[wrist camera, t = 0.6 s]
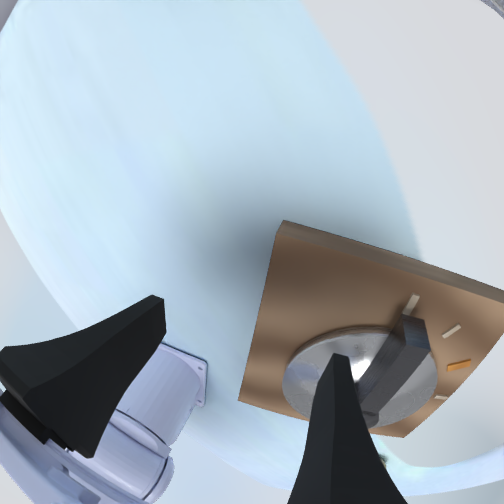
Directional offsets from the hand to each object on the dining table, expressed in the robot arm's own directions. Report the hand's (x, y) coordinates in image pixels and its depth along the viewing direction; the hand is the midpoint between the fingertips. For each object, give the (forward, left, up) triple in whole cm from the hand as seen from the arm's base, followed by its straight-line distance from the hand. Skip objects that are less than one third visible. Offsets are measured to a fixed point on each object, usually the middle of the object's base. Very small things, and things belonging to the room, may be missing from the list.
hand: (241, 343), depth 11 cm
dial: (-7, -9, -6) cm, 13 cm away
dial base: (-8, -9, -9) cm, 15 cm away
